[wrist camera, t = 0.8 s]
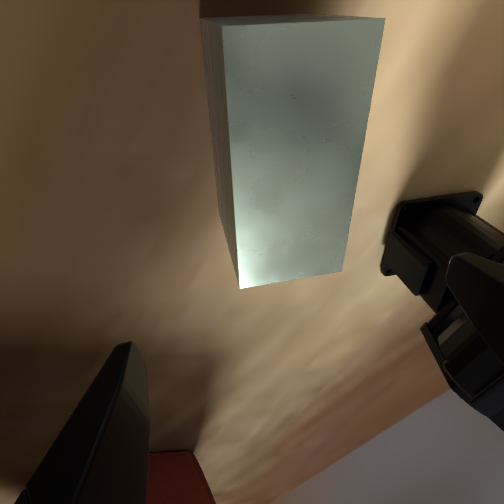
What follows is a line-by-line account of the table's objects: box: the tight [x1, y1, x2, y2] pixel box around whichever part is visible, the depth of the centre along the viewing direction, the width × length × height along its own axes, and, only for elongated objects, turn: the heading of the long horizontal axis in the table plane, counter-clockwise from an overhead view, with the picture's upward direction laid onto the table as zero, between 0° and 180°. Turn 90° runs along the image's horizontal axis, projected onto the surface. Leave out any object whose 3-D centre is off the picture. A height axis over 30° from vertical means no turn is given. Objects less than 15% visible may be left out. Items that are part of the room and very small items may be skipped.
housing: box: [200, 13, 385, 289], centre depth 16 cm, size 5×10×7 cm, turn 2°
